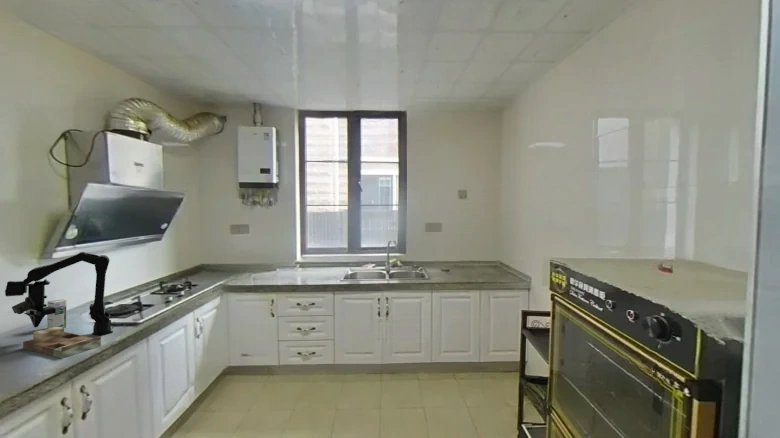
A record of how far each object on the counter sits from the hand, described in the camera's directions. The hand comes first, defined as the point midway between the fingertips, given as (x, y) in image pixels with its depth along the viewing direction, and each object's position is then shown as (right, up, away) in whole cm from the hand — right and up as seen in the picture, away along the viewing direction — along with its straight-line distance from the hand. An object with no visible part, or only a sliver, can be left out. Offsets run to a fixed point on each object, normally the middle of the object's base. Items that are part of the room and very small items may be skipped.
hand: (35, 327), depth 183 cm
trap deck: (+18, -8, -6) cm, 20 cm away
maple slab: (+9, -4, -3) cm, 10 cm away
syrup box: (-7, -6, +19) cm, 21 cm away
